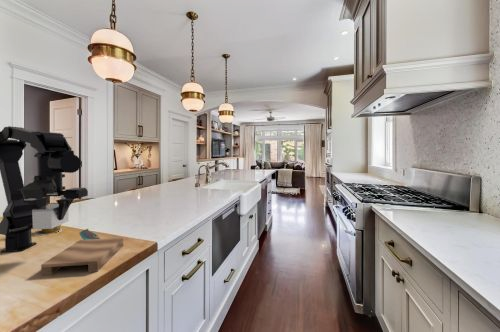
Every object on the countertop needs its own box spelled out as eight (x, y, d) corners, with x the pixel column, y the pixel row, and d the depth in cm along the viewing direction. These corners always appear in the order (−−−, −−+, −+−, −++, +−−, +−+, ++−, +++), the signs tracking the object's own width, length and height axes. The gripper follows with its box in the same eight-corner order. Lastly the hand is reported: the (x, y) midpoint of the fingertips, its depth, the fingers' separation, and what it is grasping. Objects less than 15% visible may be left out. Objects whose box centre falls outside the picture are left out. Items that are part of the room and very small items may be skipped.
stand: (80, 248, 78) (80, 239, 78) (123, 245, 80) (123, 237, 80) (41, 275, 60) (41, 264, 60) (97, 271, 63) (97, 261, 62)
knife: (90, 247, 79) (106, 243, 83) (90, 244, 79) (106, 240, 83) (75, 232, 96) (89, 229, 99) (75, 229, 95) (89, 226, 99)
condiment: (62, 231, 94) (61, 204, 94) (34, 236, 88) (33, 207, 88) (61, 227, 99) (60, 201, 99) (34, 232, 94) (33, 204, 93)
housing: (52, 221, 74) (51, 204, 74) (68, 221, 75) (68, 203, 75) (32, 229, 66) (32, 209, 66) (51, 228, 67) (51, 209, 67)
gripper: (-10, 173, 60) (-8, 229, 61) (66, 173, 64) (68, 226, 64) (24, 171, 71) (26, 218, 72) (88, 171, 75) (89, 216, 75)
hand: (51, 220), depth 71 cm, fingers closed on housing, 5 cm apart
